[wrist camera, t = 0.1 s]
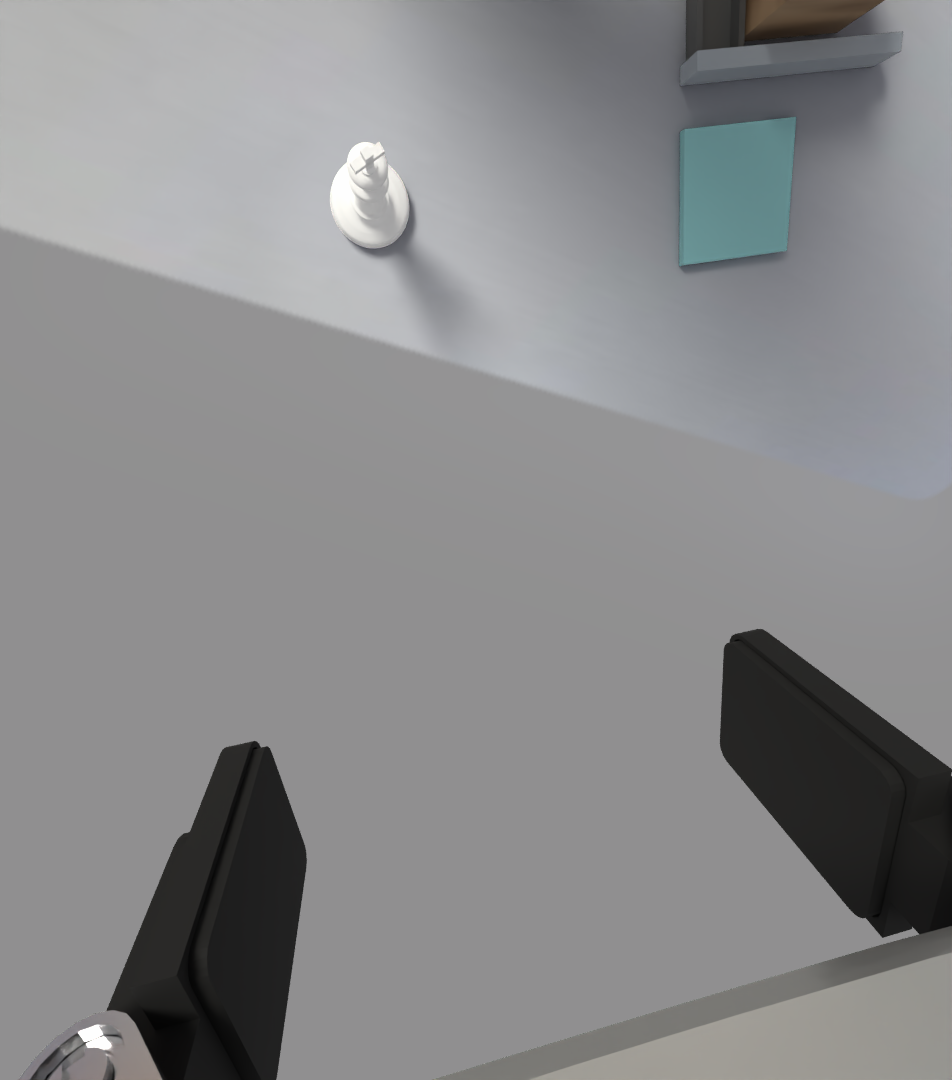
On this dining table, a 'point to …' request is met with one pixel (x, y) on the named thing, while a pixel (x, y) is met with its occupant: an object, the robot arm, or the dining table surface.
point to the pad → (735, 190)
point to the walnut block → (801, 17)
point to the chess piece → (369, 198)
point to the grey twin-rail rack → (767, 48)
